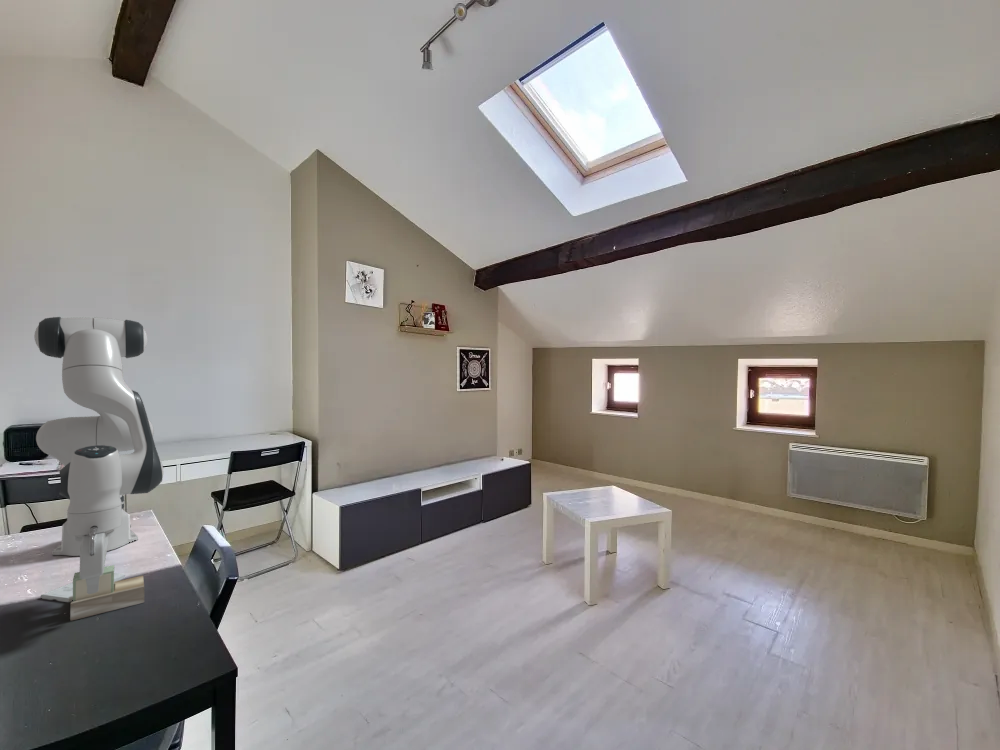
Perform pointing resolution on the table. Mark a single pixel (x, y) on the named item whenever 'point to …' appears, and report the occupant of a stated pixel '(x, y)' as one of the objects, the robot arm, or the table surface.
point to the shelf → (110, 599)
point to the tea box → (104, 585)
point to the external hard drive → (70, 591)
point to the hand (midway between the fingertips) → (94, 584)
